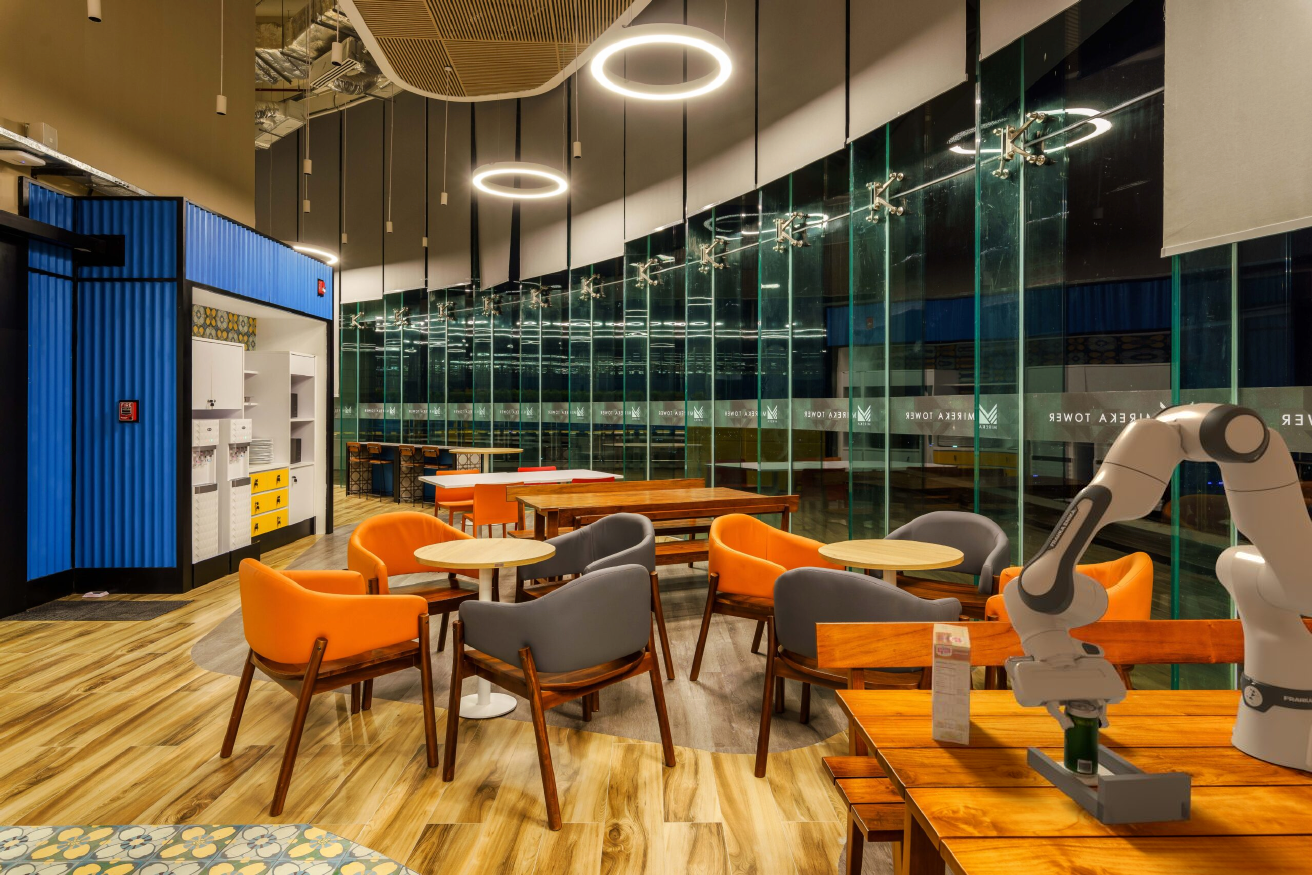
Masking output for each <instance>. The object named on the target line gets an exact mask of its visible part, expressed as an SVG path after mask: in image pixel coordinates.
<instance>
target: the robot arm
mask: <svg viewBox="0 0 1312 875" xmlns="http://www.w3.org/2000/svg"><path fill="white" fill-rule="evenodd" d="M1184 460H1185V461H1189V462H1198V463H1202V462H1203V463H1204V462H1215V463H1216V464H1217V465H1218V466H1219V469H1220V472H1221V479H1222V484H1223V487H1224V490H1225V491H1224V492H1225V495H1226V499H1227V503H1228V508H1229V511H1230V514H1231V520H1232V522H1233V525H1234V527H1235V528H1236V529H1237V530H1238V531H1239V532H1240V533H1241V534H1242V535H1243V536H1245V537H1246V538H1247V539H1248V540H1249V541H1250V542H1251V543H1252V544H1246V545H1245V544H1244V545H1243V544H1242V545H1241V544H1240V545H1233V546H1230V547H1227V548H1226V549H1225V550H1224V551H1222V552H1221V554H1219V556H1218V558H1217V561H1216V564H1215V573H1216V574H1215V575H1216V577H1217V579H1218V581H1219V582H1220V583H1221V585H1222V586H1223V587H1224V588H1225V589H1226V591H1227V592H1228V593H1229V595H1230V596H1231V599H1232V600H1233V602H1234V605H1235V607H1236V610H1237V612H1238V616H1239V618H1240V622H1241V626H1242V629H1243V636H1244V642H1243V644H1244V663H1243V664H1244V667H1243V668H1244V670H1243V671H1242V672H1241V675H1240V691H1241V696H1240V697H1239V703H1238V708H1237V715H1236V721H1235V725H1234V726H1232V730H1231V733H1232V735H1231V738H1230V743H1231V744H1232V745H1233V746H1234V747H1235V748H1237V749H1238V750H1240V751H1242V752H1243V753H1246V754H1248V755H1250V756H1253V757H1254V758H1257V759H1260V760H1263V761H1266V762H1269V763H1272V764H1275V765H1280V766H1284V767H1287V768H1288V767H1289V768H1293V769H1297V770H1298V769H1299V770H1304V771H1306V772H1310V773H1312V633H1311V632H1310V631H1309V630H1308V628H1307V626H1306V625H1305V623H1304V622H1303V619H1302V616H1305V617H1309V618H1312V518H1311V517H1310V515H1309V512H1308V509H1307V505H1306V502H1305V499H1304V495H1303V494H1304V493H1303V491H1302V488H1301V483H1300V480H1299V477H1298V472H1297V469H1296V465H1295V462H1294V460H1293V457H1292V455H1291V453H1290V450H1289V448H1288V446H1287V444H1286V442H1285V441H1284V439H1283V437H1282V435H1281V434H1280V433H1279V432H1278V431H1277V430H1275V429H1274V428H1272V427H1269V426H1267V424H1266V421H1265V420H1264V418H1263V417H1262V416H1261V415H1260V414H1259V413H1258V412H1257V411H1255V410H1253V409H1252V408H1249V407H1247V406H1243V405H1240V404H1234V403H1225V404H1224V403H1214V402H1213V403H1212V402H1199V403H1194V404H1175V405H1170V406H1166V407H1163V408H1160V409H1159V410H1157V411H1156V412H1154V413H1153V414H1152V415H1151V416H1150V417H1149V418H1138V419H1135V420H1133V421H1131V422H1129V423H1128V424H1127V425H1126V426H1125V427H1124V428H1123V430H1122V431H1121V432H1120V434H1119V435H1118V436H1117V438H1116V439H1115V440H1114V442H1113V444H1112V446H1111V447H1110V448H1109V451H1108V452H1107V454H1106V455H1105V458H1104V459H1103V461H1102V464H1101V465H1100V468H1099V469H1098V471H1097V472H1096V475H1094V477H1093V479H1092V480H1091V482H1090V483H1089V484H1088V485H1087V486H1086V487H1084V488H1083V489H1082V490H1080V491H1079V492H1078V493H1077V494H1076V496H1075V497H1073V500H1072V501H1071V502H1070V504H1069V505H1068V507H1067V508H1066V510H1065V511H1064V512H1063V514H1062V516H1060V517H1061V518H1060V519H1059V520H1058V522H1057V524H1056V525H1055V527H1054V528H1053V530H1052V532H1051V533H1050V534H1049V536H1048V538H1047V539H1046V541H1045V543H1044V545H1042V547H1041V548H1040V550H1039V551H1038V552H1037V553H1036V554H1035V555H1034V556H1033V557H1032V558H1031V559H1030V560H1028V562H1027V563H1025V565H1024V566H1023V567H1022V569H1021V570H1020V573H1019V575H1018V576H1015V577H1014V578H1012V579H1011V580H1010V581H1008V582H1007V583H1006V585H1004V587H1003V591H1002V599H1003V604H1004V607H1005V610H1006V612H1007V616H1008V618H1009V620H1010V623H1011V625H1012V627H1013V630H1014V631H1015V632H1016V633H1017V634H1018V636H1019V638H1020V644H1021V648H1022V650H1023V652H1024V654H1025V655H1023V656H1022V655H1021V656H1015V655H1014V656H1012V655H1011V656H1009V657H1008V658H1007V659H1006V660H1005V661H1004V669H1005V671H1006V674H1007V675H1008V677H1009V681H1010V685H1011V689H1012V692H1013V695H1014V698H1015V701H1016V702H1017V704H1019V706H1021V707H1023V708H1039V707H1040V708H1041V707H1042V708H1043V707H1044V708H1046V711H1047V713H1048V714H1050V716H1052V717H1053V718H1054V719H1055V720H1056V721H1058V724H1059V726H1060V728H1061V730H1063V731H1064V730H1071V729H1072V728H1074V723H1073V722H1072V719H1071V717H1066V716H1065V715H1064V712H1063V711H1062V710H1061V709H1060V708H1061V707H1065V706H1066V703H1067V702H1068V701H1082V702H1086V703H1090V704H1092V705H1094V706H1096V707H1097V708H1098V713H1099V729H1108V728H1109V727H1110V722H1109V719H1108V718H1107V710H1108V705H1118V704H1119V703H1121V702H1122V701H1123V700H1125V699H1126V698H1127V693H1128V691H1127V688H1126V686H1125V684H1124V682H1123V680H1122V679H1121V677H1120V675H1119V673H1118V672H1117V669H1115V667H1114V666H1113V664H1112V663H1111V662H1110V661H1108V660H1107V659H1106V658H1104V657H1105V655H1106V653H1105V650H1104V648H1103V647H1102V646H1100V645H1098V644H1094V643H1090V642H1087V641H1084V640H1080V639H1077V638H1076V637H1071V635H1070V633H1069V630H1074V629H1078V628H1082V627H1086V626H1088V625H1092V624H1095V623H1097V622H1098V621H1100V620H1101V619H1103V617H1104V616H1105V615H1106V613H1107V610H1108V607H1109V594H1108V592H1107V590H1106V588H1105V587H1104V586H1103V584H1102V583H1101V582H1100V581H1098V580H1096V579H1094V578H1092V577H1091V576H1088V575H1087V574H1085V573H1082V572H1079V571H1077V570H1076V569H1077V565H1078V563H1079V561H1080V560H1081V558H1082V556H1083V555H1084V553H1085V552H1086V550H1087V548H1088V547H1089V545H1090V544H1091V541H1092V540H1093V539H1094V537H1095V536H1096V534H1097V532H1099V531H1100V529H1102V528H1103V527H1105V526H1107V525H1108V524H1111V523H1115V522H1119V521H1120V522H1121V521H1133V520H1137V519H1141V518H1144V517H1145V516H1147V515H1150V514H1151V512H1152V511H1153V510H1154V509H1155V507H1157V505H1158V504H1159V502H1160V500H1161V499H1162V497H1163V495H1164V492H1165V491H1166V488H1167V487H1168V485H1169V482H1170V480H1171V478H1172V476H1173V473H1174V470H1175V469H1176V467H1177V466H1178V465H1179V464H1180V463H1181V462H1182V461H1184Z"/></svg>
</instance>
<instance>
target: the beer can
mask: <svg viewBox="0 0 1312 875" xmlns="http://www.w3.org/2000/svg"><path fill="white" fill-rule="evenodd" d="M1064 709H1065V716H1066V717H1071V719H1072V722H1073V723H1074V728H1072V729H1071V730H1063V731H1064V732H1063V733H1064V734H1063V736H1064V737H1063V762H1064V767H1065V769H1066V770H1067V771H1068V772H1070V773H1071V774H1072V775H1074V776H1077V777H1081V778H1094V777H1095V776H1096V775H1097V773H1098V745H1099V744H1100V743H1099V741H1100V740H1099V739H1100V738H1099V736H1100V734H1099V733H1100V728H1099V713H1098V708H1097V707H1096V706H1094V705H1092V704H1090V703H1086V702H1082V701H1068V702H1067V703H1066V707H1065V706H1064Z"/></svg>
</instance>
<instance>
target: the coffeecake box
mask: <svg viewBox="0 0 1312 875" xmlns="http://www.w3.org/2000/svg"><path fill="white" fill-rule="evenodd" d="M932 634H933V635H932V664H931V666H932V668H931V669H932V671H931V672H932V673H931V733H932V734H931V736H932V737H931V738H932V740H934V741H940V742H947V743H955V744H960V745H966V746H969V745H970V718H971V716H970V714H971V713H970V711H971V710H970V708H971V704H970V703H971V655H972V654H971V652H972V651H971V649H972V648H971V647H972V646H971V641H970V634H969V629H968V626H961V625H952V624H946V623H933V632H932Z"/></svg>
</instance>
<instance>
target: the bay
mask: <svg viewBox="0 0 1312 875" xmlns="http://www.w3.org/2000/svg"><path fill="white" fill-rule="evenodd" d="M1026 764H1027V765H1028V766H1030V767H1031V768H1032V769H1033V770H1034V771H1036V772H1037V773H1038V774H1040V775H1041V776H1042V777H1043V778H1044V779H1046V780H1047V781H1048V782H1050V783H1051V784H1052V785H1054V787H1056V788H1057V789H1058V790H1060V791H1061V792H1062V793H1064V794H1065V795H1066V796H1067V795H1068V796H1067V797H1069V796H1070V797H1071V798H1072V799H1073V800H1072V799H1071V798H1070V797H1069V798H1070V799H1071V800H1072V801H1074V802H1075V803H1076V802H1077V803H1076V804H1078V805H1079V806H1080V807H1082V809H1083V810H1085V811H1087V812H1088V813H1089V814H1090V815H1091V816H1092V817H1094V818H1095V819H1097V820H1098V821H1099V822H1100V823H1102V824H1103V825H1116V824H1135V823H1139V824H1140V823H1154V822H1155V823H1157V822H1174V821H1175V822H1176V821H1190V820H1191V805H1192V803H1191V801H1192V799H1191V798H1192V776H1191V775H1190V774H1187V772H1184V771H1173V772H1155V773H1154V772H1151V773H1149V772H1148V773H1147V772H1146V771H1144V770H1143V769H1141V768H1140V767H1138V766H1136V765H1135V764H1133V763H1131V762H1130V761H1129V760H1127V759H1125V758H1123V757H1122V756H1121V755H1119V754H1117V753H1116V752H1114V751H1113V750H1111V749H1110V748H1108V747H1107V746H1105V745H1103V744H1102V743H1101V744H1100V743H1099V745H1098V773H1097V775H1096V776H1095V777H1094V778H1081V777H1077V776H1074V775H1072V774H1071V773H1070V772H1068V771H1067V770H1066V769H1065V767H1064V761H1055V760H1053V759H1052V758H1051V757H1050V756H1048V755H1047V754H1045V753H1044V752H1043V751H1041V750H1040V749H1038V748H1037V747H1036V746H1033V747H1032V746H1030V747H1028V746H1027V747H1026ZM1090 786H1097V791H1095V789H1093V788H1091V787H1090ZM1172 820H1174V821H1172Z"/></svg>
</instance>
